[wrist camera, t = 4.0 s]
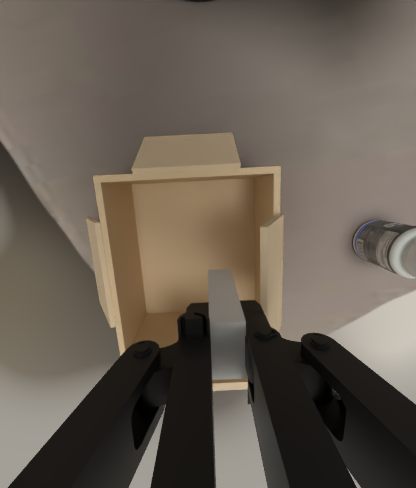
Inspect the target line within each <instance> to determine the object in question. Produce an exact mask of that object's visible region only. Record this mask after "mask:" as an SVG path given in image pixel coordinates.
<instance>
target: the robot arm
mask: <svg viewBox="0 0 416 488" xmlns="http://www.w3.org/2000/svg"><path fill="white" fill-rule="evenodd" d="M194 1H205V0H194ZM208 294H209V302H206V303H191V304H190V305H189V306H188V307H187V308H186V313H184V314H182V315H180V316H179V317H178V319H177V325H178V341H177V342H176V343H174V344H172V345H169V346H166V347H162V348H160V347H159V344H157V343H156V342H154V341H151V340H144V341H139V342H136V343H134V344H132V345H131V346H130V347H129V348H127V349H126V351H125V352H124V353H123V354H122V355H121V356H120V358H119V359H118V360H117V361H116V362H115V363H114V365H113V366H112V367H111V368H110V370H108V371H107V373H106V374H105V375H104V376H103V377H102V379H101V380H100V381H99V382H98V383H97V384H96V385H95V387H94V388H93V389H92V390H91V391H90V392H89V394H88V395H87V396H86V397H85V398H84V400H83V401H82V402H81V403H80V404H79V405H78V406H77V408H76V409H75V410H74V411H73V412H72V413H71V415H70V416H69V417H68V418H67V419H66V421H65V422H64V423H63V424H62V425H61V426H60V427H59V429H58V430H57V431H56V432H55V433H54V434H53V436H52V437H51V438H50V439H49V440H48V441H47V443H46V444H45V445H44V446H43V447H42V448H41V450H40V451H39V452H38V453H37V454H36V455H35V457H34V458H33V459H32V460H31V461H30V462H29V463H28V465H27V466H26V467H25V468H24V469H23V471H22V472H21V473H20V474H19V475H18V476H17V478H16V479H15V480H14V481H13V482H12V483H11V484H10V486H9V487H8V488H128V487H129V485H130V483H131V481H132V478H133V476H134V474H135V472H136V470H137V468H138V465H139V463H140V461H141V459H142V456H143V454H144V452H145V450H146V448H147V446H148V444H149V441H150V439H151V437H152V435H153V433H154V430H155V428H156V426H157V424H158V422H159V419H160V417H161V415H162V413H163V411H164V407H165V404H166V408H165V413H164V418H163V424H162V429H161V434H160V440H159V445H158V450H157V456H156V462H155V466H154V472H153V477H152V483H151V488H216V477H215V446H214V415H213V385H212V380H224V379H246V372H247V376H248V404H251V407H252V411H253V416H254V421H255V426H256V431H257V437H258V441H259V446H260V451H261V456H262V461H263V466H264V471H265V476H266V481H267V486H268V488H357V487H356V485H355V483H354V481H353V479H352V477H351V475H350V473H351V474H352V475H353V477H354V478H355V480H356V481H357V482H358V484H359V485H360V487H361V488H416V405H415V404H414V403H413V402H412V401H410V400H409V399H408V398H407V397H405V396H404V395H403V394H402V393H400V392H399V391H398V390H397V389H395V388H394V387H393V386H392V385H390V384H389V383H388V382H386V381H385V380H384V379H383V378H381V377H380V376H379V375H378V374H376V373H375V372H374V371H373V370H371V369H370V368H369V367H368V366H366V365H365V364H364V363H363V362H361V361H360V360H359V359H357V358H356V357H355V356H354V355H353V354H351V353H350V352H349V351H348V350H346V349H345V348H344V347H342V346H341V345H340V344H339V343H337V342H336V341H335V340H334V339H332V338H330V337H328V336H326V335H323V334H320V333H308V334H305V335H303V337H302V338H301V342H296V341H290V340H286V339H283V338H282V337H281V335H280V333H279V332H278V331H277V330H276V329H274V328H272V327H271V326H270V324H269V322H268V320H267V318H266V315H265V313H264V311H263V309H262V307H261V305H260V304H259V303H258V302H257V301H255V300H239V297H238V293H237V290H236V286H235V283H234V280H233V276H232V273H231V269H215V270H208ZM347 468H348V469H347ZM348 470H349V471H350V473H349V471H348Z"/></svg>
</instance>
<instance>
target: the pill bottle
mask: <svg viewBox="0 0 416 488" xmlns="http://www.w3.org/2000/svg"><path fill="white" fill-rule="evenodd" d="M353 247H354V250H355V252H356V254H357V255H358V256H359V257H361V258H362V259H364V260H366V261H369V262H371V263H373V264H376V265H378V266H380V267H382V268H384V269H386V270H389V271H391V272H393V273H395V274H397V275H400V276H403V277H405V278H411V279H416V226H410V225H405V224H399V223H394V222H387V221H382V220H373V221H369V222H367V223H365V224H363V225H362V226H361V227H360V228H359V229H358V230H357V232H356V234H355V236H354V239H353Z"/></svg>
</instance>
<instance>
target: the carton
mask: <svg viewBox="0 0 416 488" xmlns="http://www.w3.org/2000/svg"><path fill="white" fill-rule="evenodd" d="M93 180H94V187H95V193H96V200H97V206H98V213H99V219H100V226H101V232H102V239H103V246H104V252H105V259H106V265H107V272H108V278H109V285H110V291H111V298H112V304H113V311H114V318H115V324H116V331H117V337H118V344H119V350H120V356H121V355H122V354H123V353H124V352H125V351H126V349H127V348H129V347H130V346H131V345H132V344H134V343H136V342H139V341H144V340H151V341H154V342H156V343H157V344H159V347H160V348H162V347H166V346H169V345H172V344H174V343H176V342H177V341H178V325H177V319H178V317H179V316H180V315H182V314H184V313H186V308H187V307H188V306H189V305H190V304H191V303H206V302H209V294H208V270H215V269H231V273H232V276H233V280H234V283H235V286H236V290H237V293H238V297H239V300H255V301H257V302H258V303H259V304H260V227H261V226H262V225H264V224H265V223H267V222H268V221H269V220H271V219H272V218H274V217H275V216H276V215H278V214H280V181H281V166H270V167H251V168H234V169H215V170H196V171H177V172H158V173H139V174H118V175H99V176H93Z"/></svg>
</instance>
